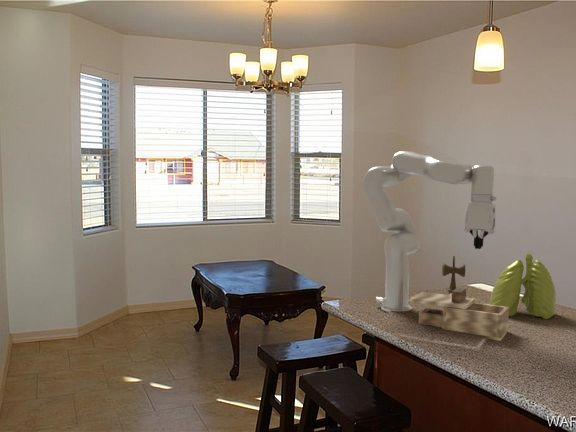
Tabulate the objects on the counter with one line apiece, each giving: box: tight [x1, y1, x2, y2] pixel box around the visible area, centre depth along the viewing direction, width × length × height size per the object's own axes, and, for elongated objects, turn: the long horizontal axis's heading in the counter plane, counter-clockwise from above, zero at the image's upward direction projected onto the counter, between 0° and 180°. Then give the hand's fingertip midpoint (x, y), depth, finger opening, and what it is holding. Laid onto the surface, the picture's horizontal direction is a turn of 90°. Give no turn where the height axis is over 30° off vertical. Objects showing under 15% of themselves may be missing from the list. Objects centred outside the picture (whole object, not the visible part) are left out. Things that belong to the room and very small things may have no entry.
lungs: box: [488, 253, 557, 320], centre depth 232 cm, size 25×16×24 cm, turn 77°
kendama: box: [441, 255, 466, 295], centre depth 253 cm, size 6×10×20 cm, turn 82°
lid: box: [408, 287, 476, 309], centre depth 212 cm, size 20×13×5 cm, turn 59°
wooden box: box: [418, 302, 510, 342], centre depth 209 cm, size 30×13×9 cm, turn 59°
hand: (478, 248), depth 213 cm, fingers closed
